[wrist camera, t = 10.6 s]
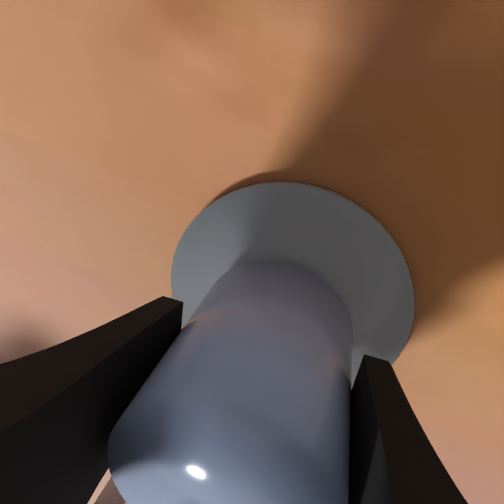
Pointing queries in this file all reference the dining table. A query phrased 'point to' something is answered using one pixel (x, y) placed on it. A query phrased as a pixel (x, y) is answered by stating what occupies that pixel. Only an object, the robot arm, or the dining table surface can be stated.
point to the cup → (245, 399)
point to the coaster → (304, 256)
